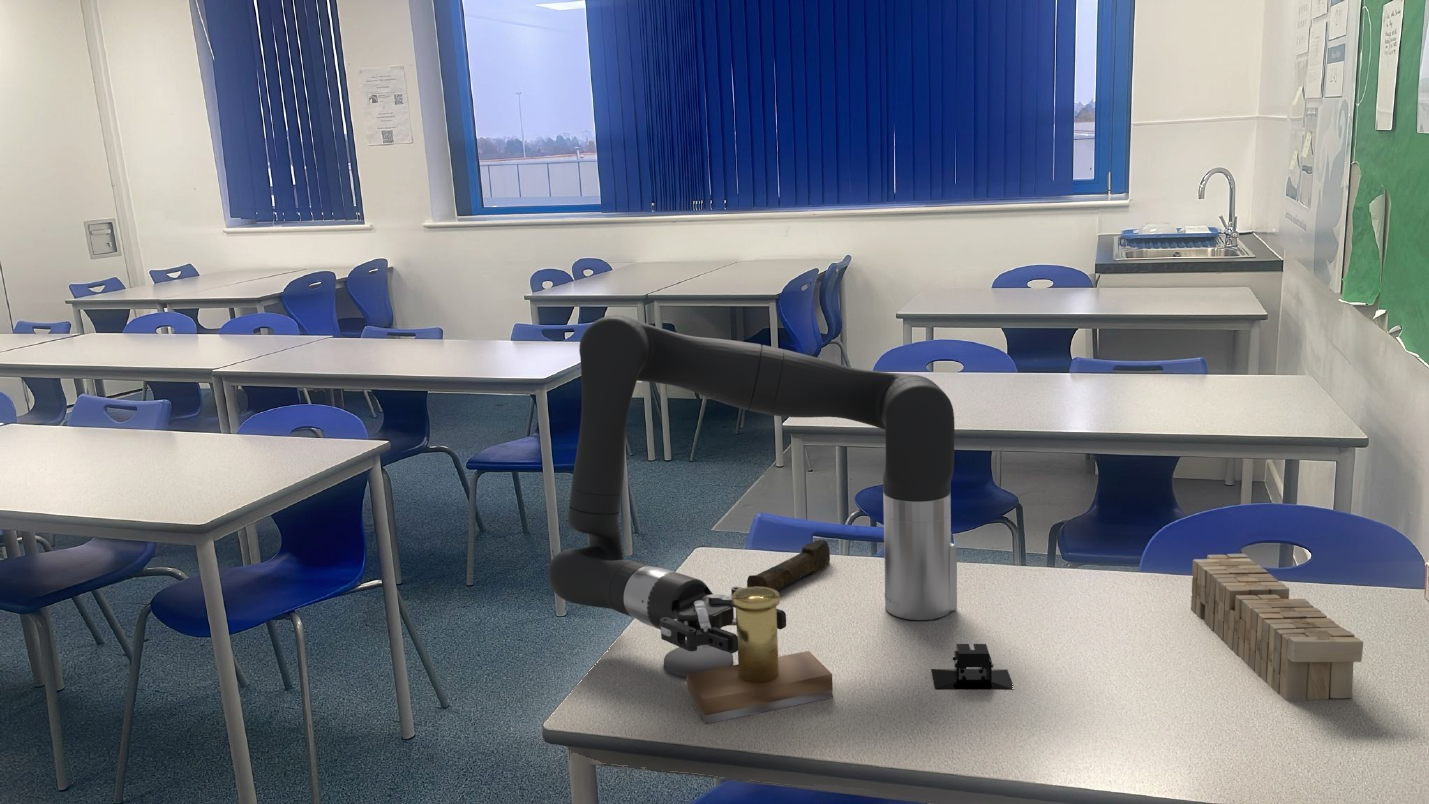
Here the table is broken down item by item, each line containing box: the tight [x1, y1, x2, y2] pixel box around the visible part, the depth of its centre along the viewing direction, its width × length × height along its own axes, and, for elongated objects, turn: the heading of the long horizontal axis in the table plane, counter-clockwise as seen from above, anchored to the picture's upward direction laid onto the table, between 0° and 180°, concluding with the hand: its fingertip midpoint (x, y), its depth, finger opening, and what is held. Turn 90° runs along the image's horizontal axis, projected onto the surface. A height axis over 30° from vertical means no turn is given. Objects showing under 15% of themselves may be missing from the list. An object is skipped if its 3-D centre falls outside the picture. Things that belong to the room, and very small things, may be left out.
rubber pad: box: [663, 645, 734, 679], centre depth 138 cm, size 9×9×1 cm
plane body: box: [686, 650, 834, 725], centre depth 128 cm, size 16×7×3 cm, turn 108°
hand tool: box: [746, 539, 831, 592], centre depth 164 cm, size 19×4×5 cm, turn 136°
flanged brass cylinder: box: [732, 586, 780, 683], centre depth 127 cm, size 6×6×10 cm
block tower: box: [1190, 553, 1364, 701], centre depth 133 cm, size 8×8×29 cm
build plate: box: [930, 643, 1014, 691], centre depth 130 cm, size 12×7×5 cm, turn 84°
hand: (760, 632), depth 126 cm, fingers open, 8 cm apart
